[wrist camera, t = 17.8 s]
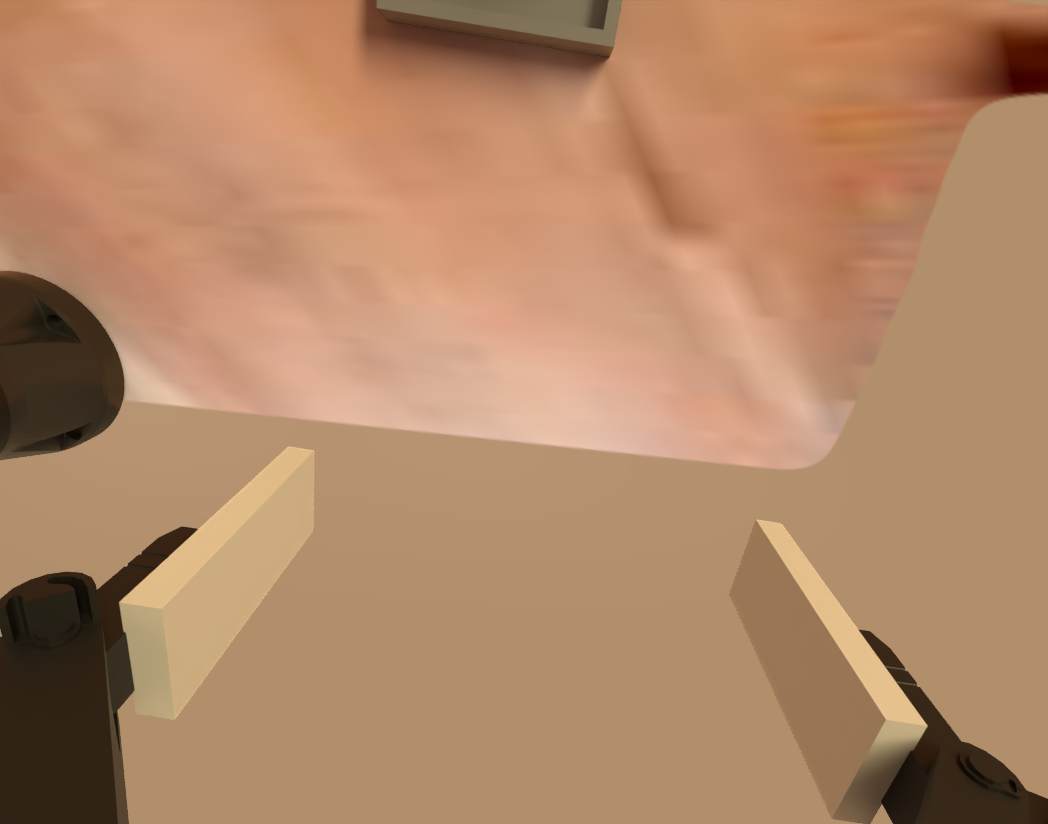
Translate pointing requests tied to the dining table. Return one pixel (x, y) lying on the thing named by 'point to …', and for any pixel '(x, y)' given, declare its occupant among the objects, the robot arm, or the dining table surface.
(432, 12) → the tray
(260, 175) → the dining table surface
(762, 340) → the dining table surface
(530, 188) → the dining table surface
